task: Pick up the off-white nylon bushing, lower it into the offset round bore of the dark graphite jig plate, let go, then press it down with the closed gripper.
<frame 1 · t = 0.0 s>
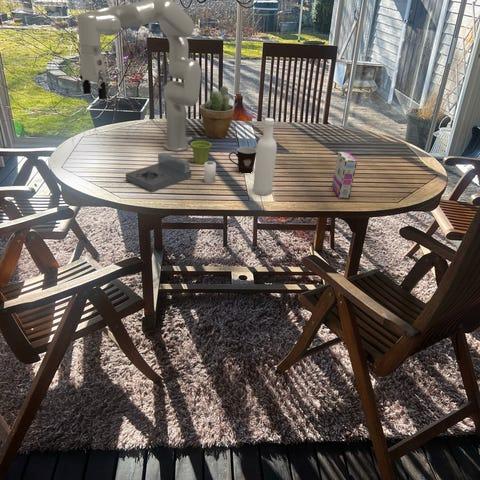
hand: (94, 95, 181), 31 cm above the table, tool pointing down, fingers open, 9 cm apart
plant pot: (200, 162, 213), on the table
potted plant: (215, 135, 249), on the table
candy bar box: (340, 193, 192), on the table
coffee mug: (242, 171, 207), on the table
bottle: (262, 191, 188), on the table
jig: (159, 179, 192), on the table
bushing: (209, 181, 194), on the table
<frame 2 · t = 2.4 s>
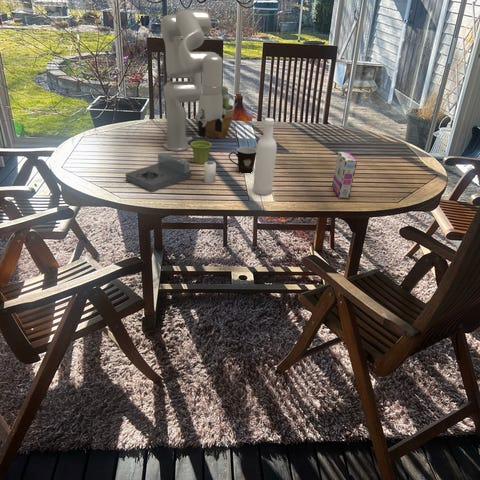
hand: (210, 133, 183), 21 cm above the table, tool pointing down, fingers open, 9 cm apart
nothing on the table moved.
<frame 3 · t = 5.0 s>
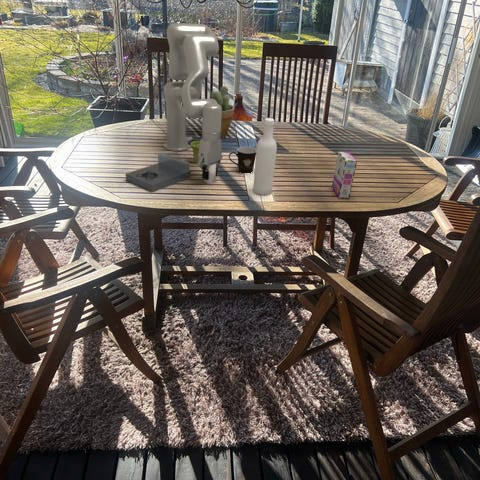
hand: (209, 177, 193), 2 cm above the table, tool pointing down, fingers closed on bushing, 4 cm apart
bushing: (209, 181, 194), on the table, touching gripper
everything else where it was.
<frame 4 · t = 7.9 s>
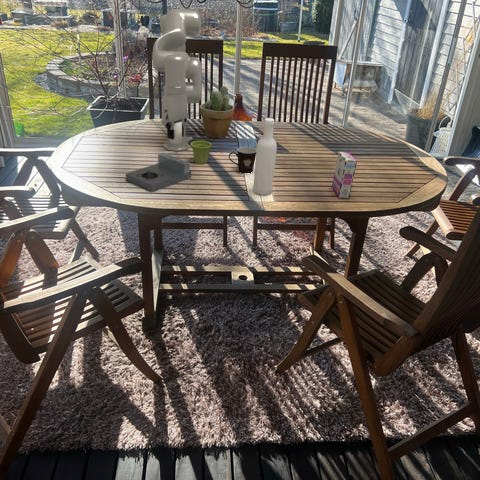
hand: (175, 136, 181), 19 cm above the table, tool pointing down, fingers closed on bushing, 4 cm apart
bushing: (175, 141, 182), point 17 cm above the table, touching gripper
everything else where it was.
when the fingers open (4 cm above the table, at t = 11.1 s): bushing drops 2 cm, resting in jig.
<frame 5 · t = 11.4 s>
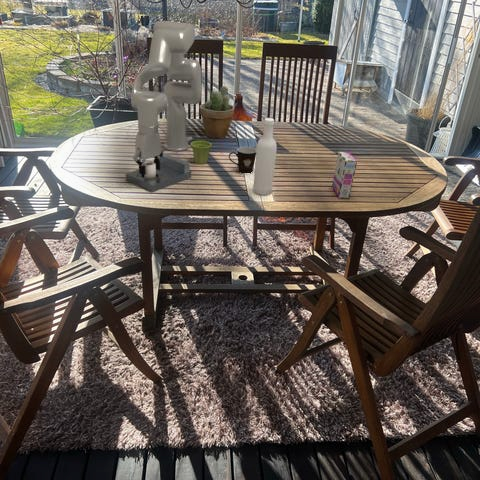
hand: (149, 171, 186), 5 cm above the table, tool pointing down, fingers open, 7 cm apart
bushing: (150, 182, 189), resting in jig
everything else where it was.
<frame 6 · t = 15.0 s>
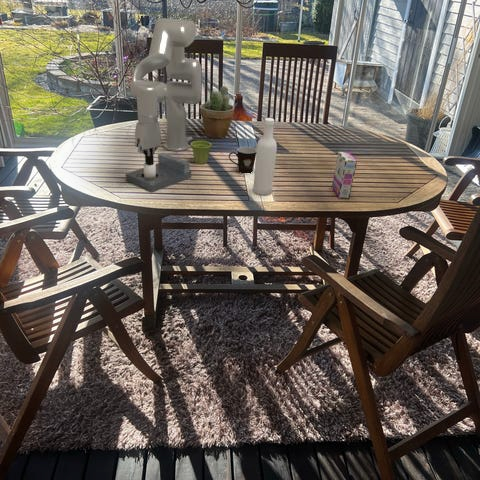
hand: (149, 163, 185), 8 cm above the table, tool pointing down, fingers closed
bushing: (150, 182, 189), resting in jig, touching gripper
everything else where it was.
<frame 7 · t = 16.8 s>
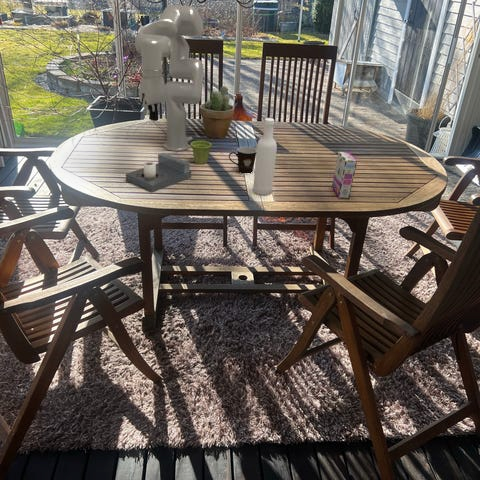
hand: (154, 119, 186), 23 cm above the table, tool pointing down, fingers closed
bushing: (150, 182, 189), resting in jig
everything else where it was.
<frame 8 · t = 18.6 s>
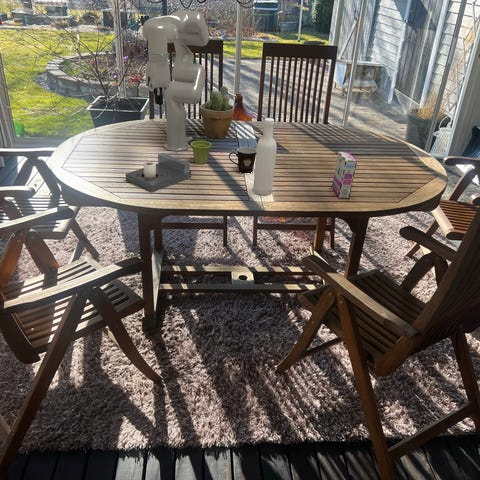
hand: (159, 103, 193), 27 cm above the table, tool pointing down, fingers closed
nothing on the table moved.
at the end: bushing 0.0 cm from the target spot on the jig, point 0.0 cm above the jig's base; bushing tilted 0°; the gripper is holding nothing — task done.
